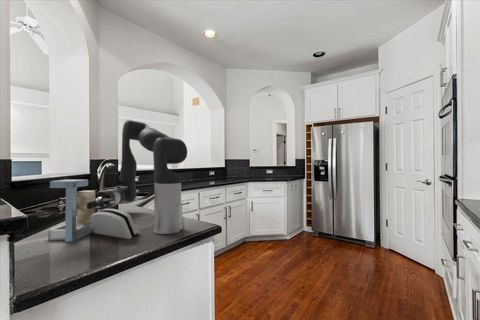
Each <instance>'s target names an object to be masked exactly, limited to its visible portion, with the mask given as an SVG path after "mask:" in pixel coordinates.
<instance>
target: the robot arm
mask: <svg viewBox="0 0 480 320" xmlns="http://www.w3.org/2000/svg"><path fill="white" fill-rule="evenodd" d="M121 135H122V136H121V137H122V138H121V164H120V170H119V171H120V172H119V181H120V182H121V183H122V182H123V183H125V184H126V185H127V186H124V185H116V186H115V187H114V188H110V189H105V190H104V189H103V190H99V191H97V192H95V201H93V202H89V203H87V209H92V208H95V209H97V210H99V211H100V210H103V209H110V208H112V207H114V206H116V205H119V204H121V203H122V202H127V203H132V202H133V201H135V200H136V198H137V193H138V192H137V186H136V175H137V169H138V168H137V167H138V165H137V160H136V158H135V157H134V154H133V151H132V149H131V145H130V143H131V140H132V141H137V142H139V144H140V145H141V146H142V147H143V148H144V149H145V150H147V151H149V152H151V153H152V157H153V177H154V189H153V190H154V195H153V197H154V199H153V200H154V203H153V206H154V207H153V208H154V209H153V233H154V234H159V235H170V234H179V233H180V231H181V230H182V229H183V202H182V176H181V174H179V173H176V172H173V171H172V170H171V169H169V167H168V165H177V164H178V165H179V164H181V163H183V162H184V161H185V160H186V159H187V156H188V148H187V145H186V143H185V141H183V140H182V139H179V138H174V137H171V136H169V135H167V134H166V133H163V132H161V131H160V130H157V129H156V128H152V127H150V126H149V125H148V124H146V123H145V122H141V121H137V120H131V119H126V120H125V121H124V123H123V126H122V134H121ZM76 210H77V208H76Z"/></svg>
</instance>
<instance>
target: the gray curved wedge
mask: <svg viewBox="0 0 480 320" xmlns="http://www.w3.org/2000/svg"><path fill="white" fill-rule="evenodd" d="M90 220H91V224H92V233H93V234H98V235H104V236H110V237H114V238H121V239H127V240H131V239H132V238H133V235H136V236H140V235H141V233H140V230H139V229H136V226H135V224H134V222H133V218H132V216H131V215H130V214H129V213H127V212H126V211H122V210H120V209H116V208H107V209H103V210H100V209H99V210H98V211H95V213H94V214H92V215H91V216H90Z"/></svg>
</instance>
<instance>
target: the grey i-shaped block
mask: <svg viewBox="0 0 480 320" xmlns="http://www.w3.org/2000/svg"><path fill="white" fill-rule="evenodd" d="M88 186H89V179H59V180H52V181H51V180H50V181H49V188H50V189H65V213H64V214H65V217H64V218H65V221H64V223H65V224H61V225H59V226H56V227H53V228H52V229H51V228H50V229H48V230H47V240H48V241H64V243H73V242H75V241H77V240H79V239H80V238H83V237H85V236H87V235H89V234H91V233H93V228H92V224H91V223H90V224H87V225H85V226H80V227H78V228H77V209H76V208H77V192H78V188H81V187H88Z"/></svg>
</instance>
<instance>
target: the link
mask: <svg viewBox="0 0 480 320" xmlns="http://www.w3.org/2000/svg"><path fill="white" fill-rule="evenodd" d="M95 194H96V190H87V189H86V190H81V191H77V209H76V227H77V226H78V227H79V226H80V227H83V226H85V225H87V224H90V223H91V220H90V216H91V215H92V214H94V213H96V208H92V209H87V203H89V202H93V201H95Z"/></svg>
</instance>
